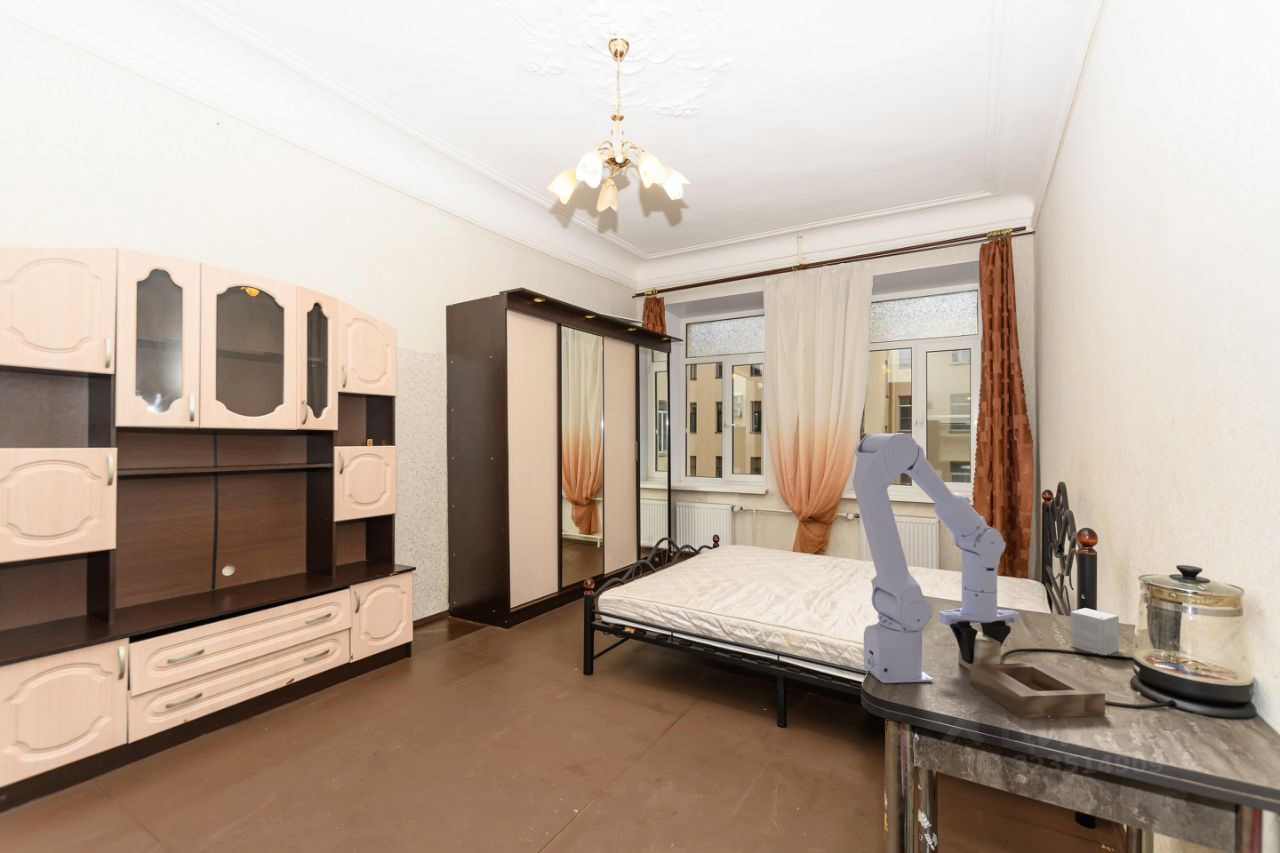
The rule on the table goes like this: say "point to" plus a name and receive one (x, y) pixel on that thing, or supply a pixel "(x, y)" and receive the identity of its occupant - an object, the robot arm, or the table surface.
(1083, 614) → the product box
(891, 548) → the robot arm
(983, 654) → the beige wooden block
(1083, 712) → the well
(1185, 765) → the table surface
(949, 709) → the table surface
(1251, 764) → the table surface
